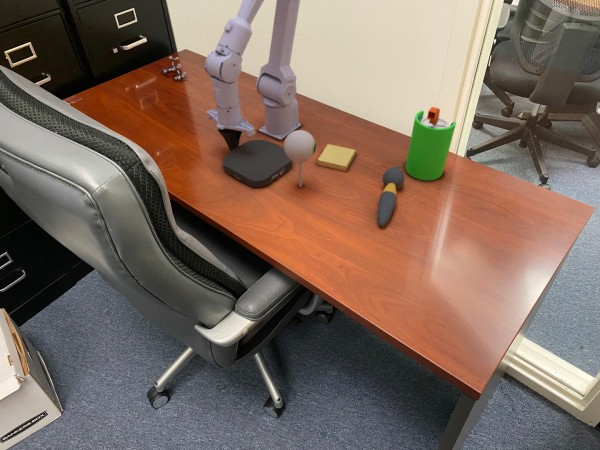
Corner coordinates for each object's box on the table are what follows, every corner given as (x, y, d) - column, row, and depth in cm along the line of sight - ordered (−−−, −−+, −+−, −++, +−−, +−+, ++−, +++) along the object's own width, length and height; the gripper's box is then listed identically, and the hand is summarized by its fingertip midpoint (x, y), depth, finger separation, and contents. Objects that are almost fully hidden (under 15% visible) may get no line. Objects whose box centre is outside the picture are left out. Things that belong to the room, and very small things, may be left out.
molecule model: (180, 73, 154) (164, 52, 149) (194, 72, 145) (178, 50, 140) (167, 84, 152) (151, 64, 148) (180, 84, 143) (164, 62, 139)
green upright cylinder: (445, 166, 111) (462, 101, 98) (438, 184, 106) (455, 118, 93) (409, 157, 114) (422, 93, 101) (401, 175, 109) (413, 109, 96)
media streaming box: (257, 143, 119) (256, 133, 117) (298, 163, 112) (298, 154, 110) (217, 168, 111) (215, 159, 109) (259, 192, 105) (258, 182, 102)
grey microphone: (398, 232, 94) (401, 215, 91) (374, 229, 95) (377, 212, 92) (403, 176, 108) (406, 159, 105) (383, 173, 109) (385, 157, 106)
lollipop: (312, 197, 103) (312, 143, 92) (282, 193, 104) (279, 140, 94) (317, 178, 108) (318, 125, 97) (289, 175, 109) (287, 122, 98)
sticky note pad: (327, 148, 117) (327, 143, 116) (355, 154, 115) (355, 149, 114) (317, 164, 112) (317, 159, 111) (345, 171, 110) (346, 166, 109)
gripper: (194, 100, 106) (203, 147, 115) (238, 119, 100) (244, 168, 109) (215, 89, 110) (222, 135, 119) (259, 106, 103) (263, 154, 113)
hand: (234, 150), depth 114 cm, fingers closed
